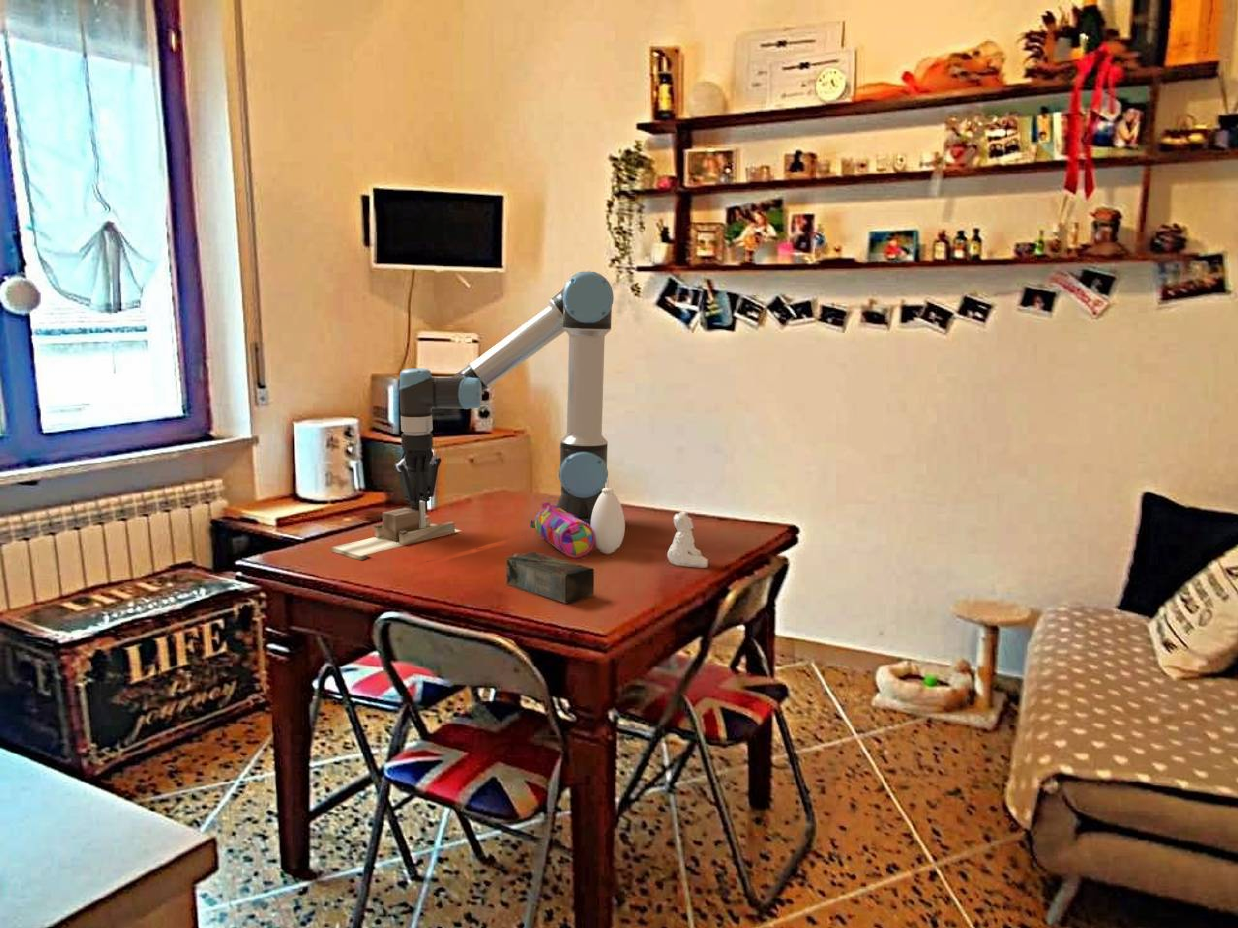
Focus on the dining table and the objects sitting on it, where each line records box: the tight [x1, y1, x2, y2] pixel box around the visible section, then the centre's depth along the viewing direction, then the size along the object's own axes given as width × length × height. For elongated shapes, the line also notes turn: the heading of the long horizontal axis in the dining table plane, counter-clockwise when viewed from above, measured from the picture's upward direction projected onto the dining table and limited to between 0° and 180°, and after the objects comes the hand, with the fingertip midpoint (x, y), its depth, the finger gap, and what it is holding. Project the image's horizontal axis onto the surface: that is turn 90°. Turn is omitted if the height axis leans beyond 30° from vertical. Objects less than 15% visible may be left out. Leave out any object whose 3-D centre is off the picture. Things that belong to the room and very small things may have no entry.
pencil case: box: [529, 501, 595, 558], centre depth 226 cm, size 22×9×9 cm, turn 25°
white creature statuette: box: [666, 510, 709, 569], centre depth 212 cm, size 10×9×12 cm
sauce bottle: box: [590, 477, 626, 555], centre depth 220 cm, size 8×8×18 cm
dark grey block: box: [506, 551, 595, 605], centre depth 194 cm, size 8×19×7 cm, turn 45°
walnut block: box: [382, 507, 419, 542], centre depth 230 cm, size 5×7×6 cm
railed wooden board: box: [331, 515, 462, 561], centre depth 230 cm, size 12×30×4 cm, turn 140°
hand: (420, 526), depth 235 cm, fingers closed
